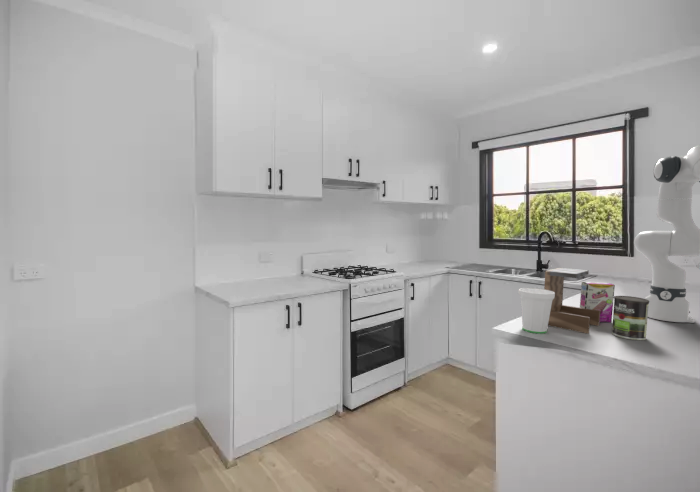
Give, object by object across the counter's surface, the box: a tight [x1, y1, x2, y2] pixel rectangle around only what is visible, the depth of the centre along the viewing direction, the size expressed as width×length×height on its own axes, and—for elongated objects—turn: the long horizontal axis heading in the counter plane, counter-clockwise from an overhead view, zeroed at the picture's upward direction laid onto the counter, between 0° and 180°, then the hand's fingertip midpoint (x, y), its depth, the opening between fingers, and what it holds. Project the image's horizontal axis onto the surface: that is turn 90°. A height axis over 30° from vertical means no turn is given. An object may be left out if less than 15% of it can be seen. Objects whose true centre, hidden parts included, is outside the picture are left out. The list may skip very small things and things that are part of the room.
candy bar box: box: [579, 281, 615, 323], centre depth 155 cm, size 11×5×16 cm, turn 84°
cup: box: [518, 287, 555, 334], centre depth 139 cm, size 12×12×15 cm
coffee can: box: [611, 295, 649, 341], centre depth 134 cm, size 10×10×14 cm
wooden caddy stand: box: [543, 267, 600, 334], centre depth 147 cm, size 18×16×22 cm
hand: (699, 266), depth 120 cm, fingers open, 8 cm apart
